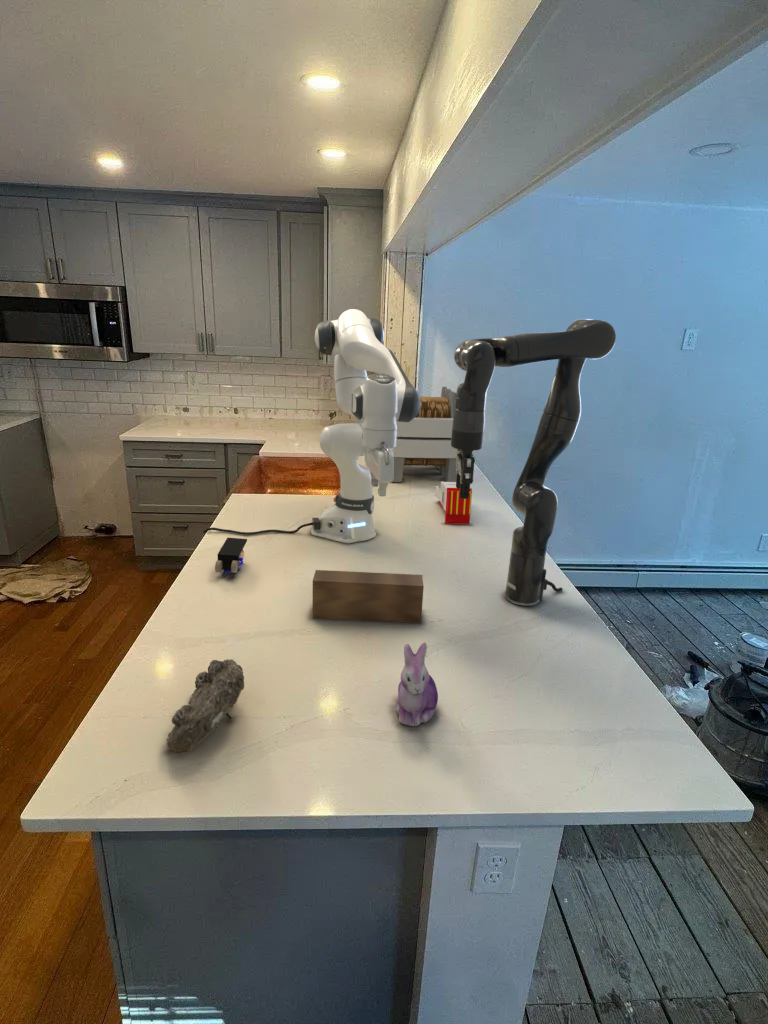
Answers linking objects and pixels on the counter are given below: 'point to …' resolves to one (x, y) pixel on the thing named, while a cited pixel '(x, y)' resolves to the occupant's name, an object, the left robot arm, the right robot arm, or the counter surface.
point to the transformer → (428, 437)
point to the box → (367, 596)
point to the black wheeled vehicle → (230, 556)
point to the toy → (454, 503)
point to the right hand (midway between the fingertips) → (462, 492)
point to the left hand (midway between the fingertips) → (378, 490)
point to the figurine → (416, 689)
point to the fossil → (206, 705)
